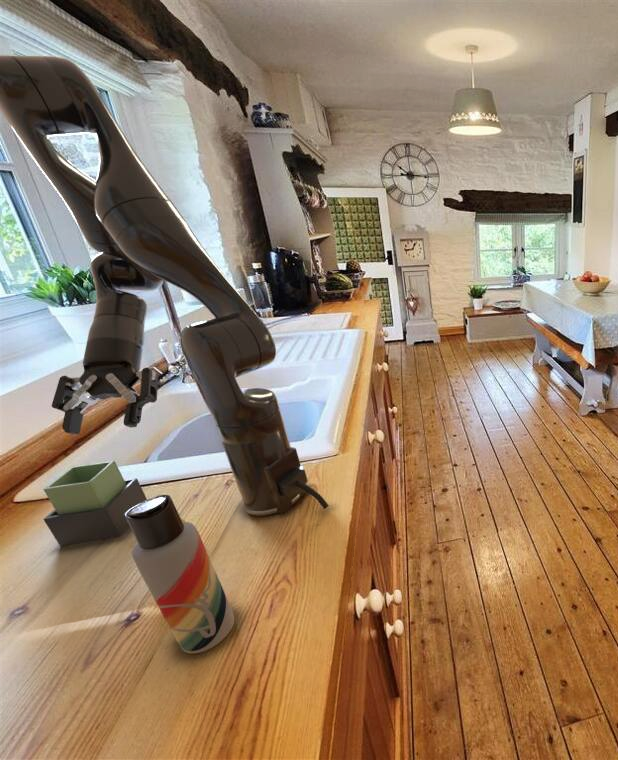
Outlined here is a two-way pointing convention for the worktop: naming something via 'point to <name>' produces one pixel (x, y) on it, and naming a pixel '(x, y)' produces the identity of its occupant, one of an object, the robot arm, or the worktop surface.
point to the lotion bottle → (179, 575)
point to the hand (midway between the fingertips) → (101, 429)
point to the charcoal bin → (96, 518)
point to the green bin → (85, 487)
